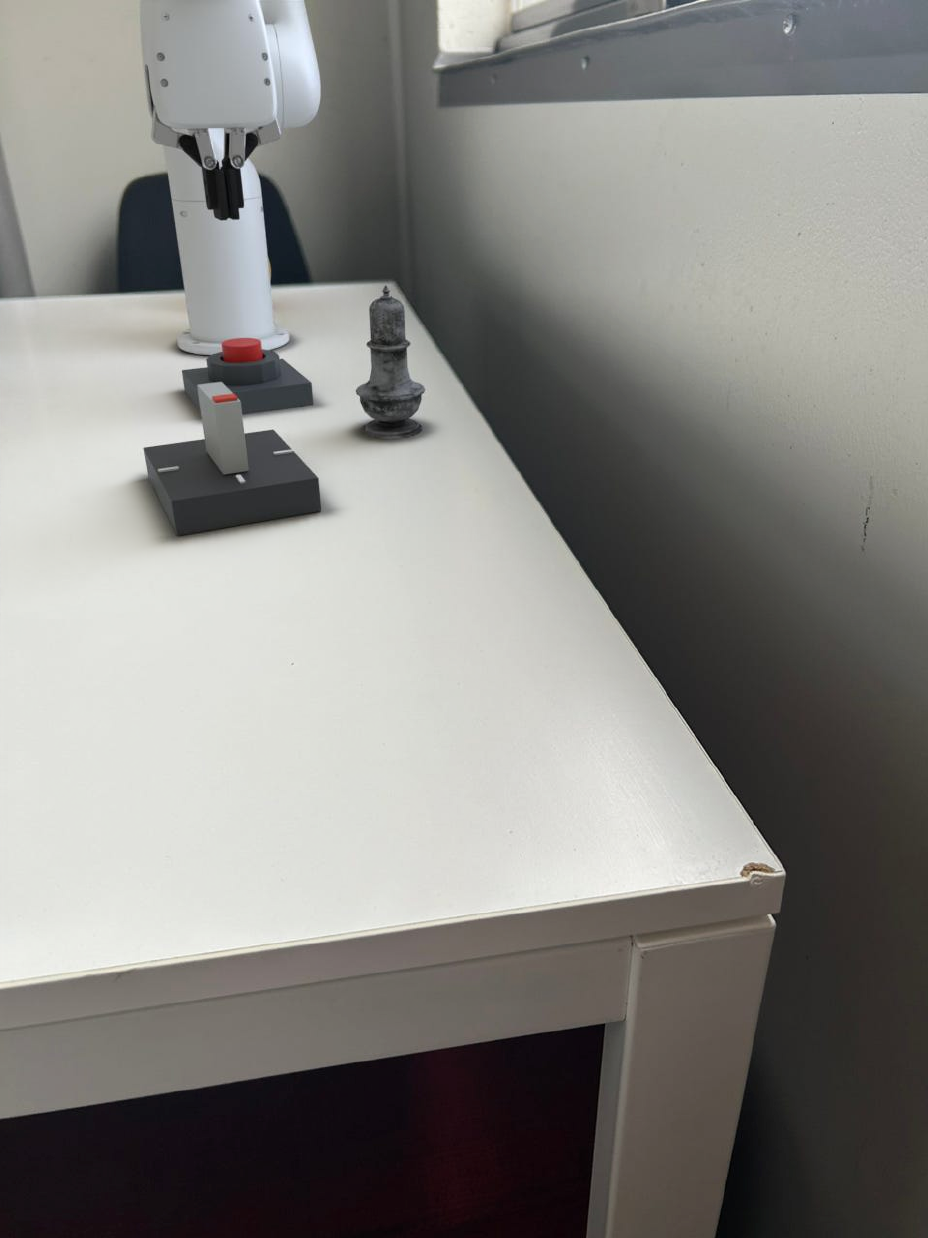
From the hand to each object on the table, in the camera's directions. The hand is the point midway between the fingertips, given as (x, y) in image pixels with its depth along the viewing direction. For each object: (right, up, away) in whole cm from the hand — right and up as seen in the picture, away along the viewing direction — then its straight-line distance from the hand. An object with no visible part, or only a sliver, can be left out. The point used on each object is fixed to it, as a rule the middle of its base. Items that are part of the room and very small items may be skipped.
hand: (226, 217), depth 86 cm
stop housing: (0, -14, +8) cm, 16 cm away
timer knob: (+4, -24, -15) cm, 28 cm away
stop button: (0, -11, +6) cm, 12 cm away
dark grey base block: (+4, -26, -14) cm, 30 cm away
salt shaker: (+15, -19, -1) cm, 24 cm away
